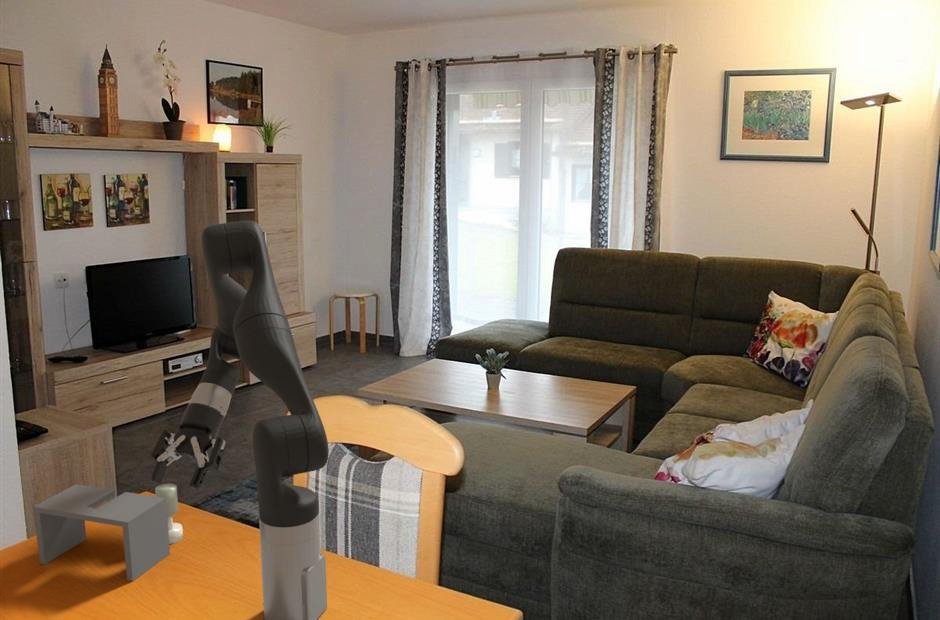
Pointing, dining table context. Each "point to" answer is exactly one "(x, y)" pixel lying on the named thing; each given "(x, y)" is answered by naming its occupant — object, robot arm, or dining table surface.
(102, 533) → the dining table surface
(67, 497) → the slotted rack
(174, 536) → the wine glass
